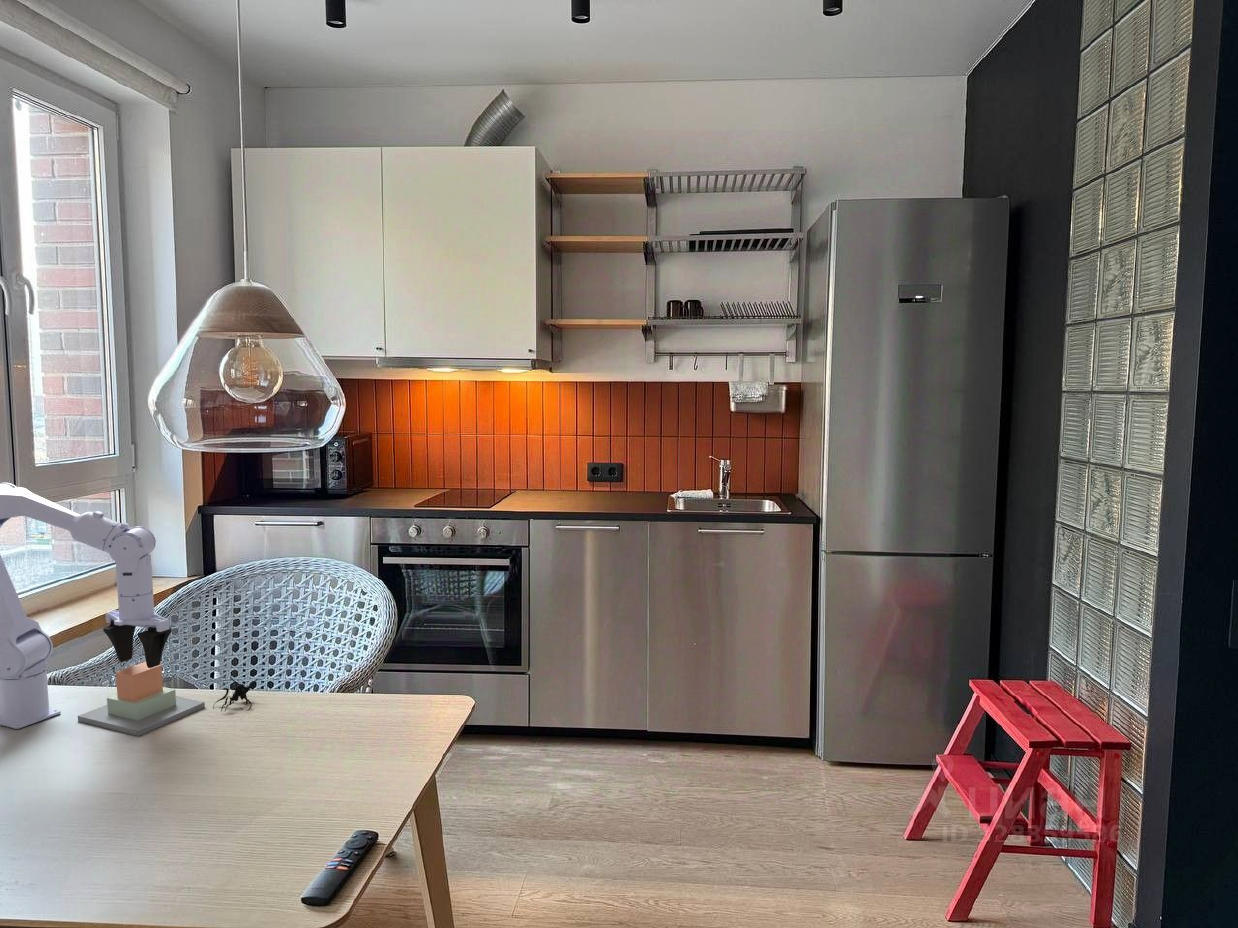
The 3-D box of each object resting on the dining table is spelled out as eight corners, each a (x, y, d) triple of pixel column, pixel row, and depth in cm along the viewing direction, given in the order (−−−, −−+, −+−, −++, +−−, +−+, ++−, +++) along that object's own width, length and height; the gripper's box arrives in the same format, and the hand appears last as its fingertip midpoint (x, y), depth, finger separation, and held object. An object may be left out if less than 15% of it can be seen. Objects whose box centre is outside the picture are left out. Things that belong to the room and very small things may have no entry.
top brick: (117, 697, 154) (115, 671, 153) (146, 686, 159) (145, 661, 158) (133, 701, 152) (132, 675, 151) (162, 690, 157) (161, 664, 157)
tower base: (78, 720, 153) (76, 700, 152) (146, 694, 166) (145, 675, 165) (138, 735, 147) (137, 714, 146) (204, 706, 159) (203, 687, 159)
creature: (243, 720, 156) (266, 696, 164) (238, 696, 154) (262, 672, 162) (205, 717, 157) (230, 693, 165) (200, 693, 156) (225, 670, 163)
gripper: (88, 593, 153) (92, 664, 154) (143, 602, 147) (147, 675, 149) (124, 585, 159) (127, 653, 161) (177, 593, 154) (181, 663, 155)
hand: (139, 663), depth 155 cm, fingers open, 7 cm apart
